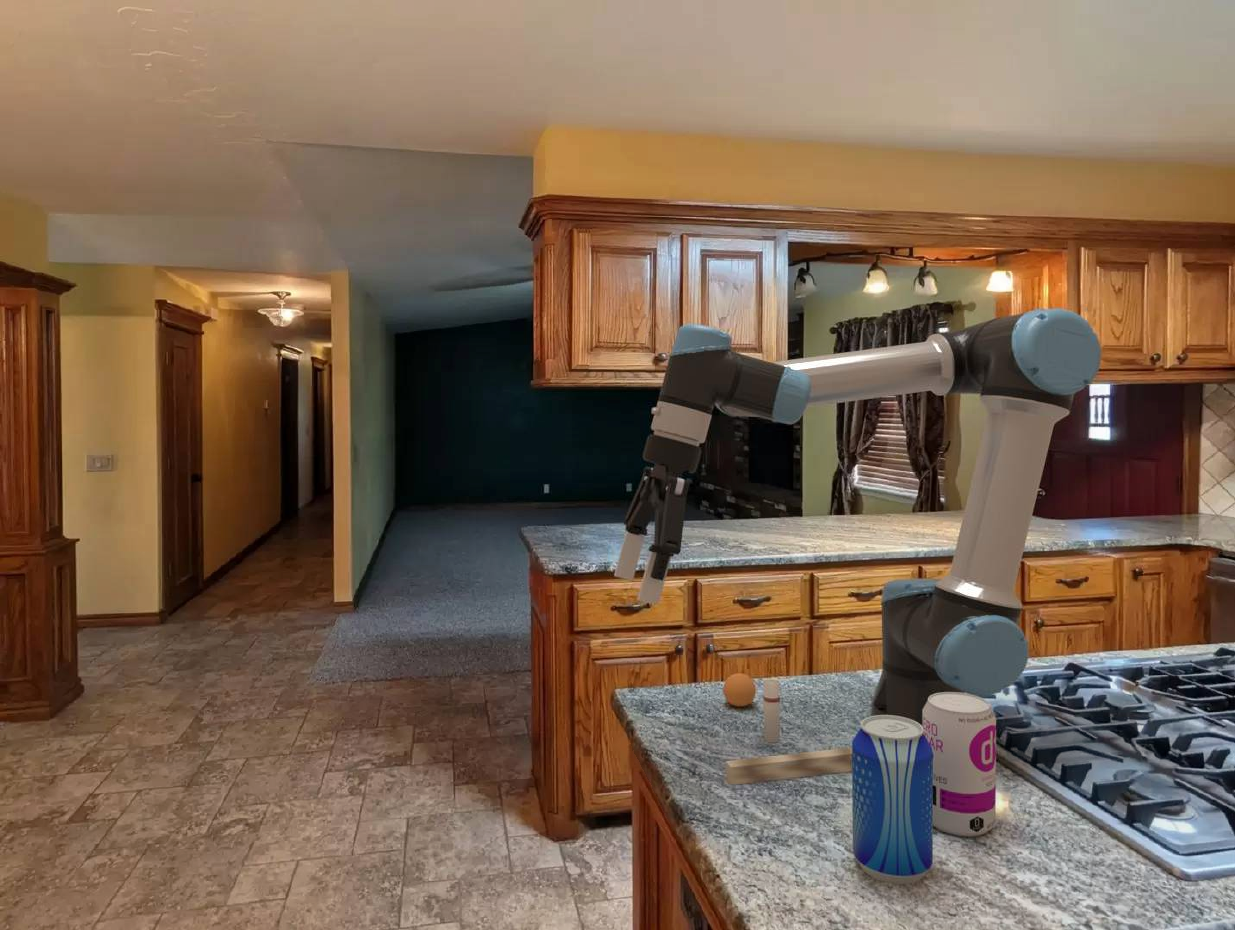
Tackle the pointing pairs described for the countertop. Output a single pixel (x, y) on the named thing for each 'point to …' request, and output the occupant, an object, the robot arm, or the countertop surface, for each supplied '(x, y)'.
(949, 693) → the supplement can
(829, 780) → the countertop surface
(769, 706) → the pin
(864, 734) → the beer can
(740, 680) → the ball
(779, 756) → the bar
